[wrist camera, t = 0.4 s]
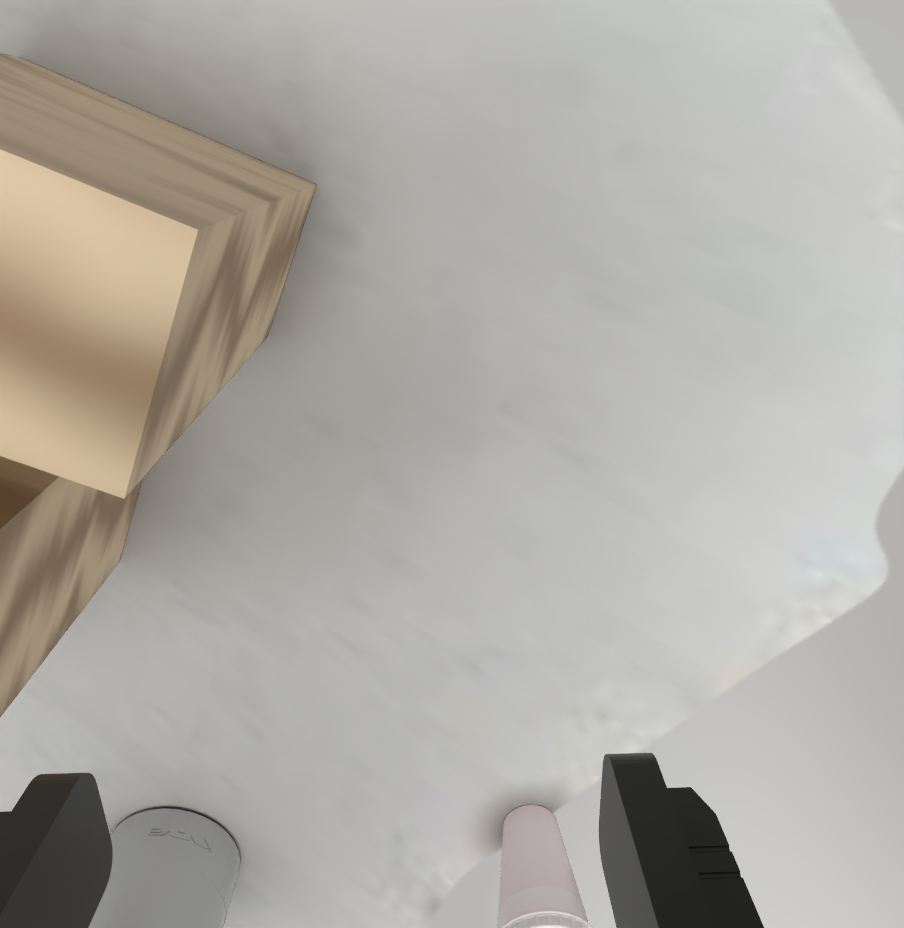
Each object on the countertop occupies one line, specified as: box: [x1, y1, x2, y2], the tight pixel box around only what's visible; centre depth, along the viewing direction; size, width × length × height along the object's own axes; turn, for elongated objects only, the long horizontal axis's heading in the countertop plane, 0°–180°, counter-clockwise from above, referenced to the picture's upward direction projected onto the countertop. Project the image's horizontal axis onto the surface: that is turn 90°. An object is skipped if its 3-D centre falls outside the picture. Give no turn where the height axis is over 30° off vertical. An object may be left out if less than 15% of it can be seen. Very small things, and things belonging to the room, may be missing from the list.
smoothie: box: [497, 805, 593, 928], centre depth 47 cm, size 6×6×14 cm
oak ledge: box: [0, 54, 316, 499], centre depth 28 cm, size 8×14×19 cm, turn 67°
